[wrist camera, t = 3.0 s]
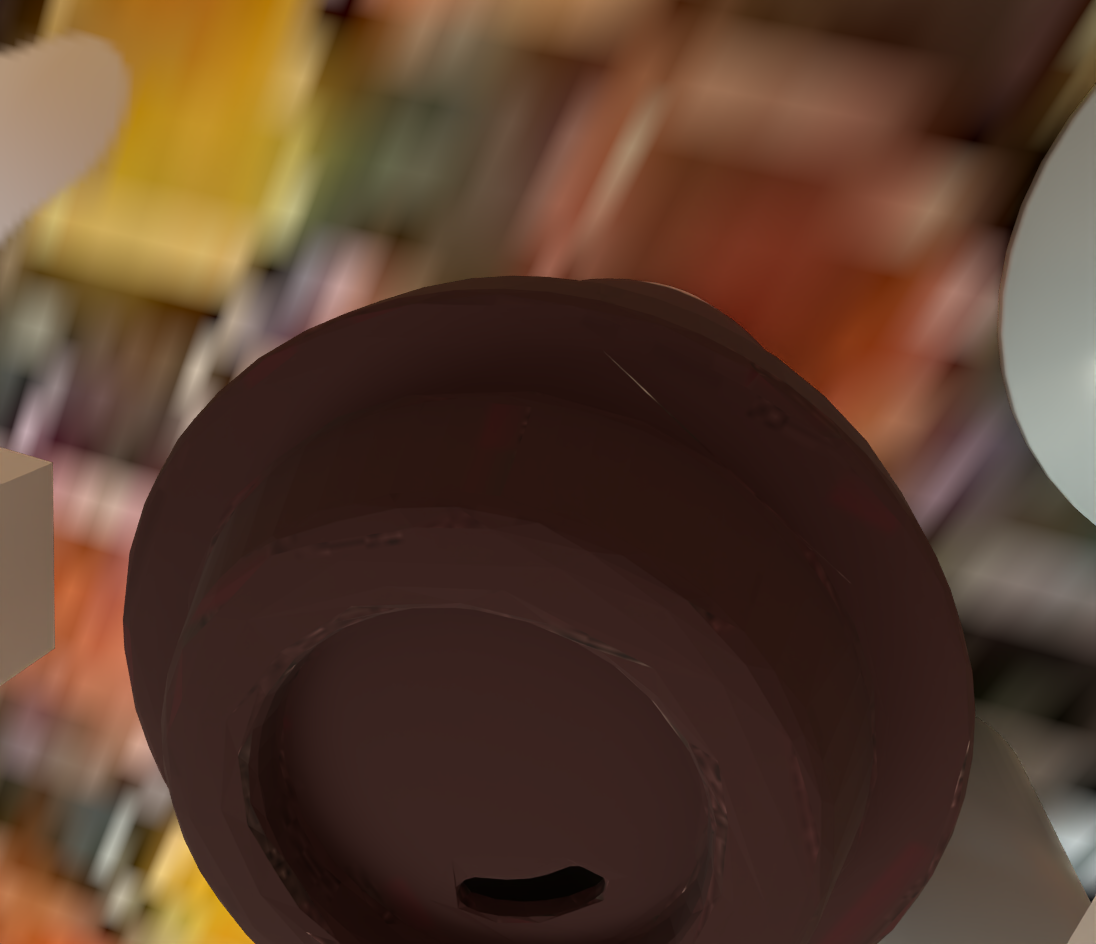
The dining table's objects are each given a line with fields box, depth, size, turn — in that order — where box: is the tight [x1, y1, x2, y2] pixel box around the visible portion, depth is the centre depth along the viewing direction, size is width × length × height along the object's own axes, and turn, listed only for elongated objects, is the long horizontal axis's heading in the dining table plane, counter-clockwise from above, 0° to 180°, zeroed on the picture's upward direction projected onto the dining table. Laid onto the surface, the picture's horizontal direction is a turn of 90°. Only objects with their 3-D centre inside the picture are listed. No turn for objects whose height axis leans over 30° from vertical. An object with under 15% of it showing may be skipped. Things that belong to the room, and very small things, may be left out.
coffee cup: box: [123, 276, 975, 944], centre depth 15 cm, size 10×10×15 cm
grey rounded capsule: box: [878, 717, 1091, 944], centre depth 20 cm, size 7×7×9 cm
